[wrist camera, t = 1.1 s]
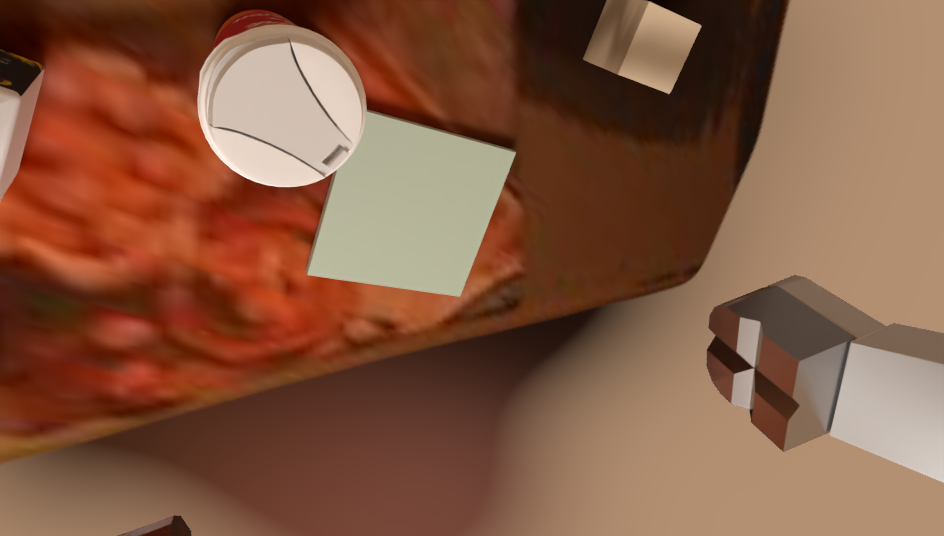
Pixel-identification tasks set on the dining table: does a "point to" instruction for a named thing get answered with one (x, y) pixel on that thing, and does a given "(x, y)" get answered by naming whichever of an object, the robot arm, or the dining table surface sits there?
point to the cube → (642, 42)
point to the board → (409, 207)
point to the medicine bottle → (16, 110)
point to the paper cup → (279, 101)
